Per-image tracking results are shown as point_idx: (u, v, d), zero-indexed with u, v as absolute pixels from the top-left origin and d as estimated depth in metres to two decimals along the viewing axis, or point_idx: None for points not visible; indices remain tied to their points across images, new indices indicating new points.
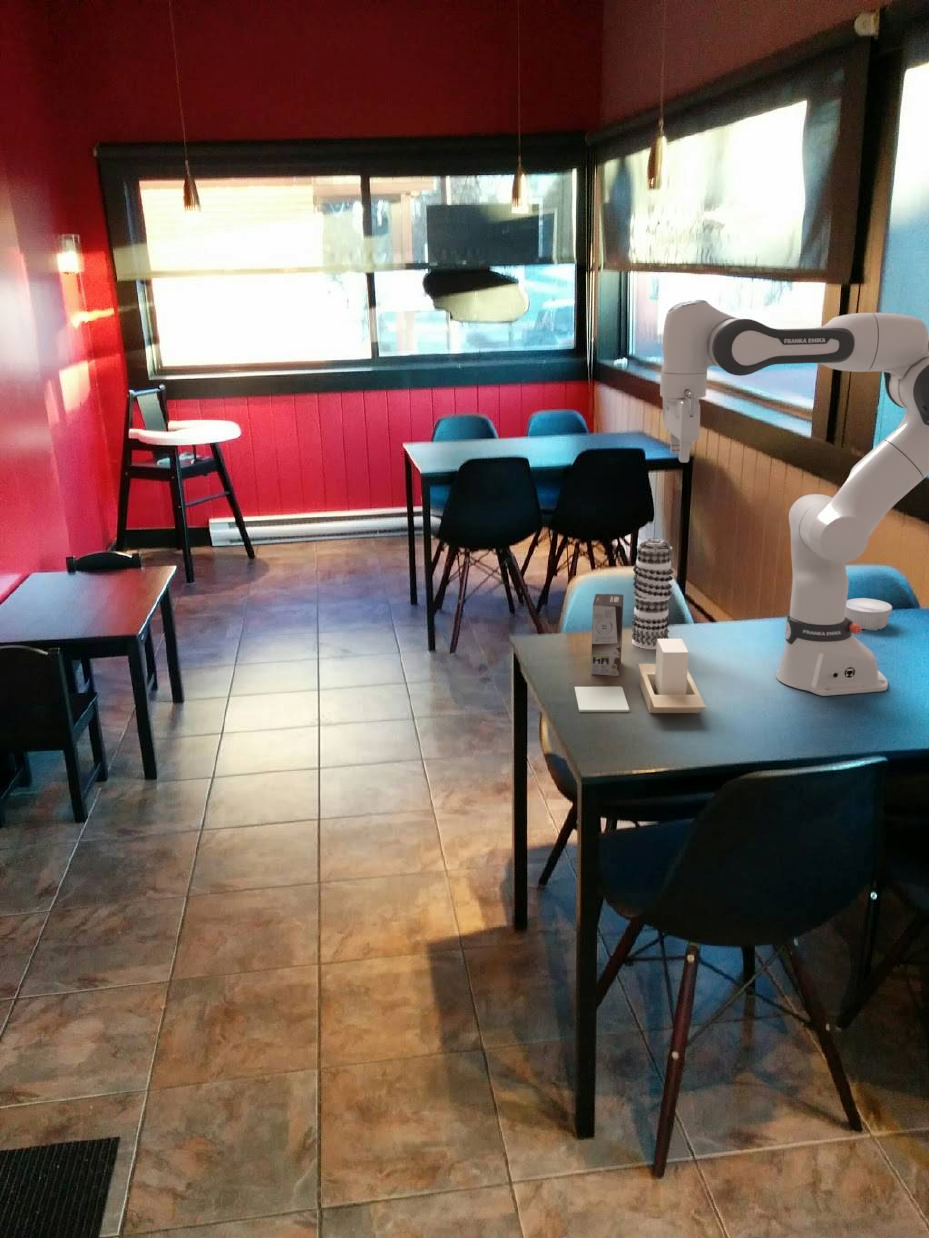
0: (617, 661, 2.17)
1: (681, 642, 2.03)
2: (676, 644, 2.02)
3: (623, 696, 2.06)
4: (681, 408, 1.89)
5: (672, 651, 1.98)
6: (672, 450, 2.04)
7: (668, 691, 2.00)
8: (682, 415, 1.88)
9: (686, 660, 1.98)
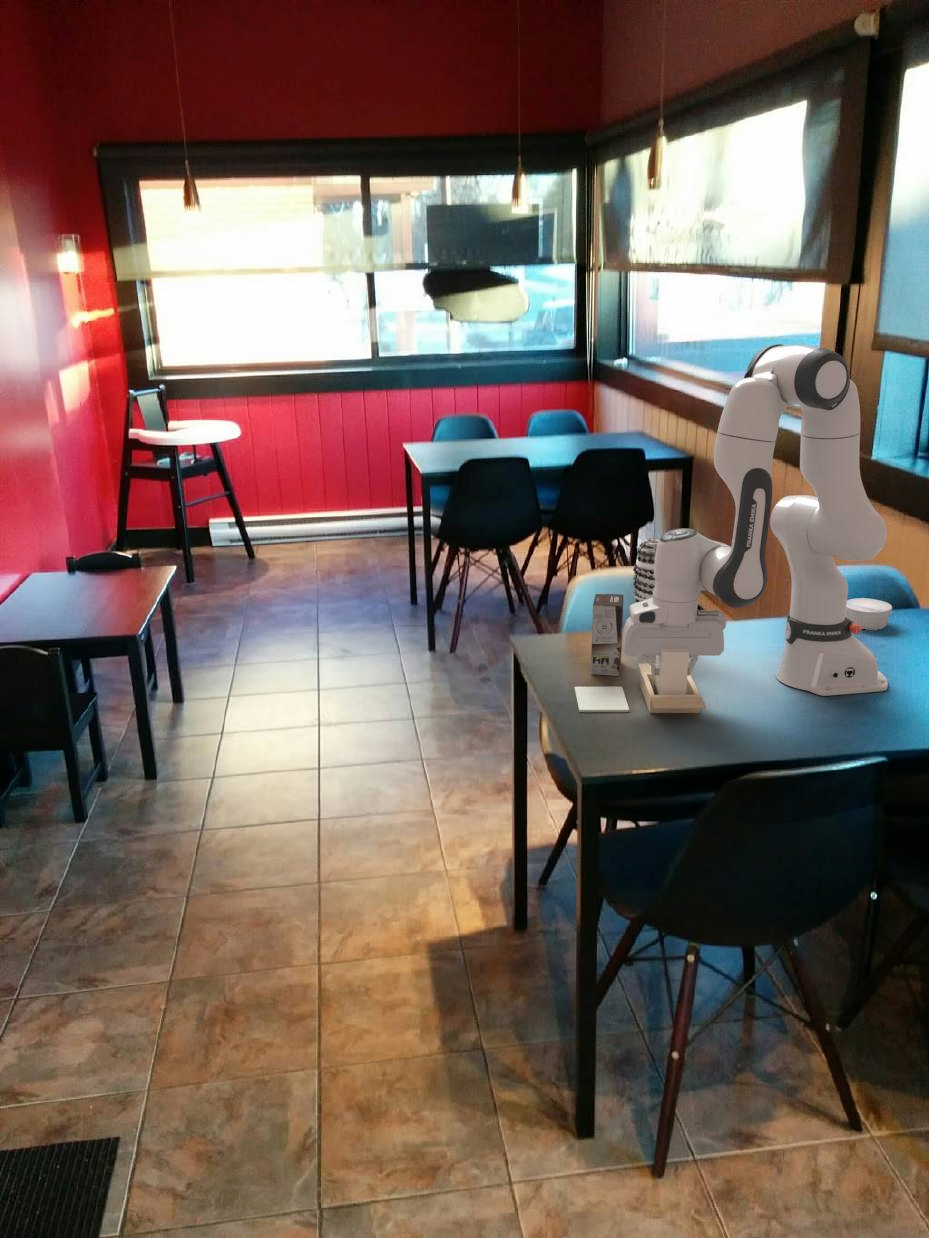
0: (617, 661, 2.17)
1: None
2: None
3: (623, 696, 2.06)
4: (719, 627, 1.98)
5: (672, 650, 1.98)
6: (658, 672, 2.03)
7: (668, 690, 2.00)
8: (722, 632, 1.99)
9: (686, 660, 1.98)
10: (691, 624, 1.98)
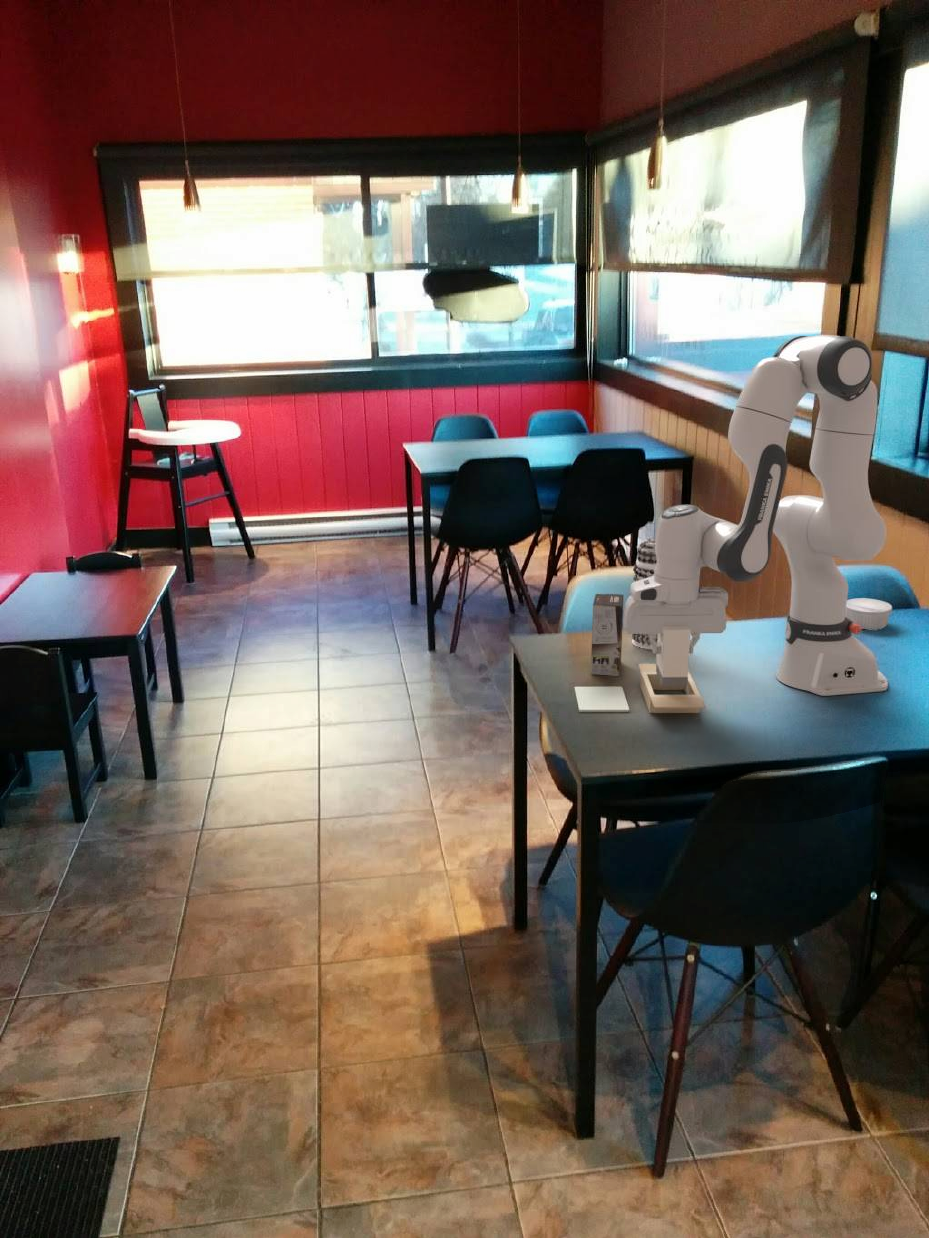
0: (617, 661, 2.17)
1: None
2: None
3: (623, 696, 2.06)
4: (721, 604, 1.97)
5: (674, 628, 1.97)
6: (660, 650, 2.01)
7: (670, 669, 1.99)
8: (724, 609, 1.97)
9: (688, 638, 1.97)
10: (693, 601, 1.97)
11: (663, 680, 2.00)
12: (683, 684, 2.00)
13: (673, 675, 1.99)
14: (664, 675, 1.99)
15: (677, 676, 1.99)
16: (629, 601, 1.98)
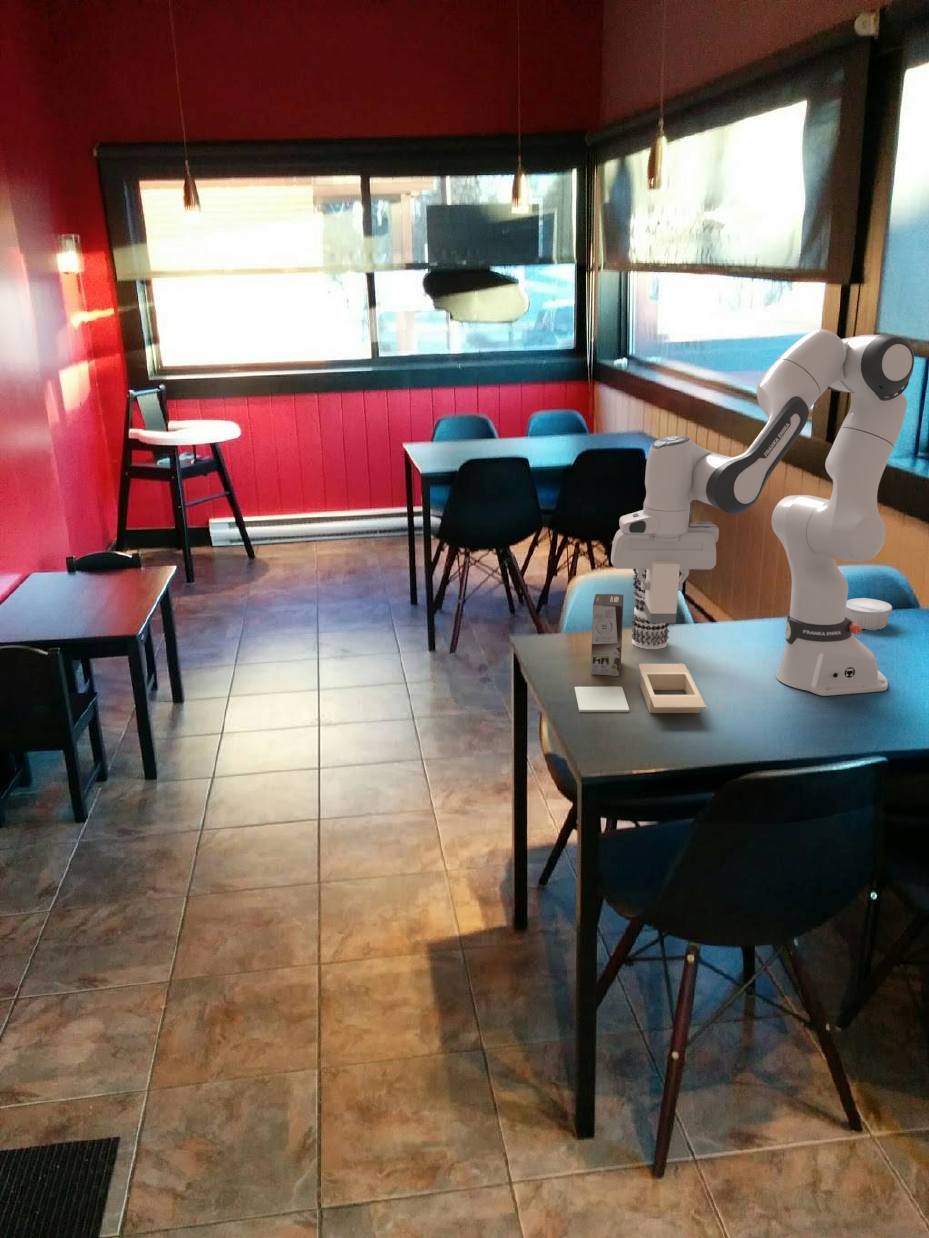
0: (617, 661, 2.17)
1: None
2: None
3: (623, 696, 2.06)
4: (711, 538, 1.92)
5: (663, 563, 1.93)
6: (648, 586, 1.97)
7: (659, 605, 1.94)
8: (714, 544, 1.93)
9: (677, 572, 1.92)
10: (682, 535, 1.92)
11: (651, 616, 1.95)
12: (671, 621, 1.95)
13: (661, 611, 1.95)
14: (652, 611, 1.95)
15: (665, 612, 1.95)
16: (617, 535, 1.94)
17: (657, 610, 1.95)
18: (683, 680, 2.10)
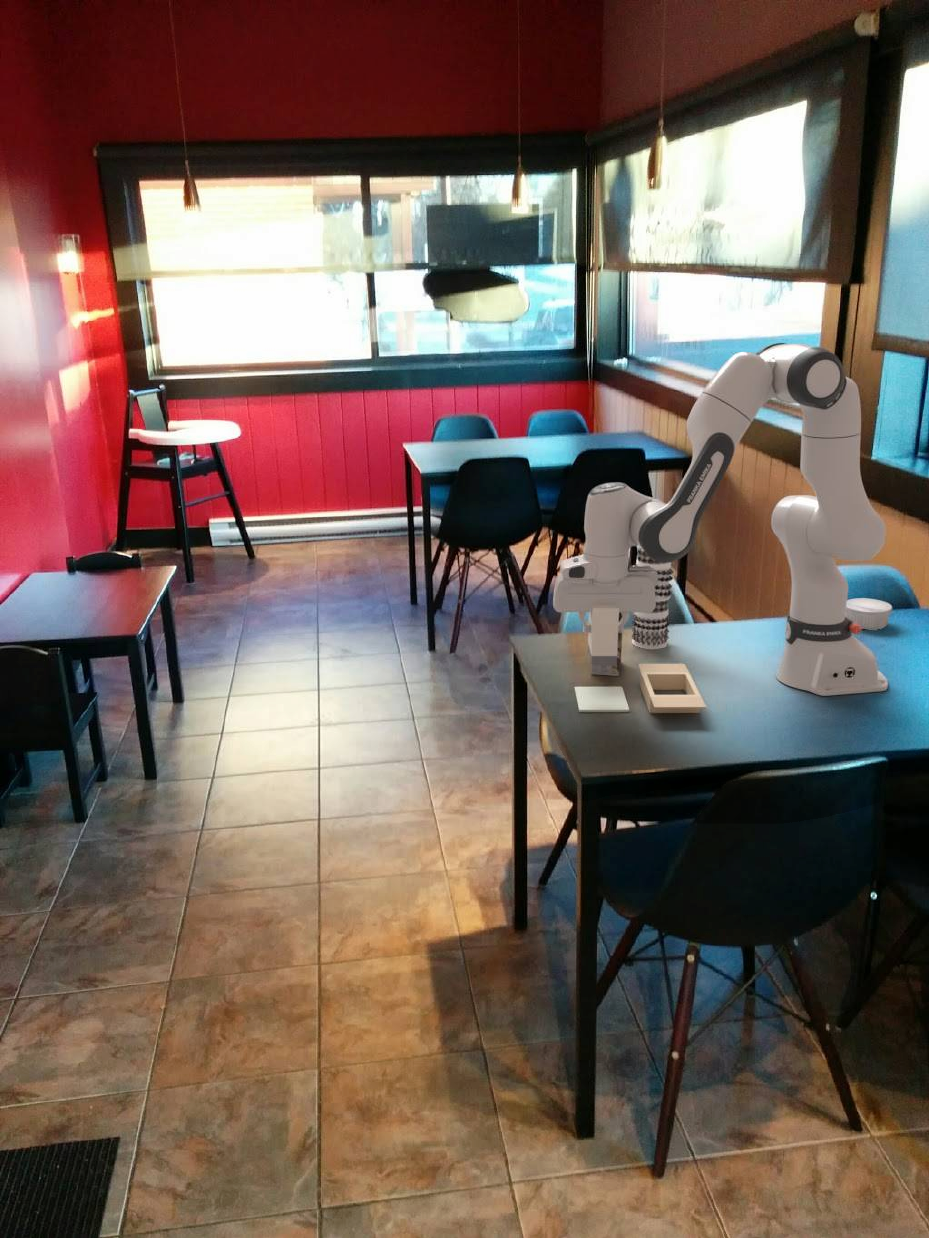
0: (617, 661, 2.17)
1: None
2: None
3: (623, 696, 2.06)
4: (650, 583, 1.96)
5: (602, 606, 1.96)
6: (590, 629, 2.00)
7: (599, 647, 1.98)
8: (653, 588, 1.96)
9: (617, 616, 1.95)
10: (622, 580, 1.95)
11: (592, 659, 1.98)
12: (612, 663, 1.99)
13: (602, 654, 1.98)
14: (593, 654, 1.98)
15: (606, 655, 1.98)
16: (558, 579, 1.97)
17: (598, 653, 1.98)
18: (683, 680, 2.10)
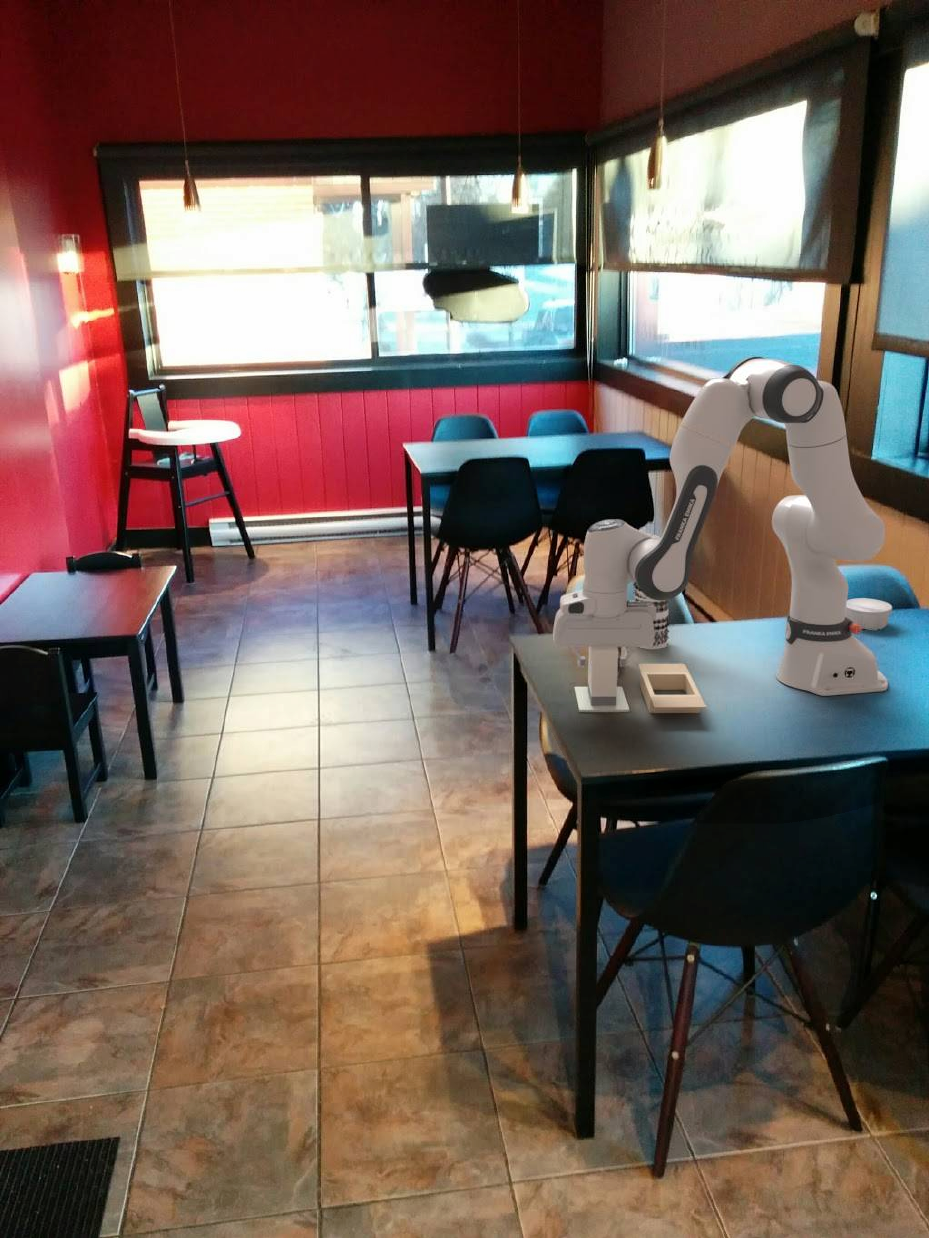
0: None
1: None
2: None
3: (623, 696, 2.06)
4: (648, 617, 1.98)
5: (602, 648, 1.99)
6: (584, 663, 2.02)
7: (599, 688, 2.01)
8: (652, 623, 1.98)
9: (616, 658, 1.98)
10: (621, 615, 1.98)
11: (592, 699, 2.01)
12: (612, 703, 2.02)
13: (602, 694, 2.01)
14: (593, 694, 2.01)
15: (606, 695, 2.01)
16: (558, 614, 2.00)
17: (597, 693, 2.01)
18: (683, 680, 2.10)
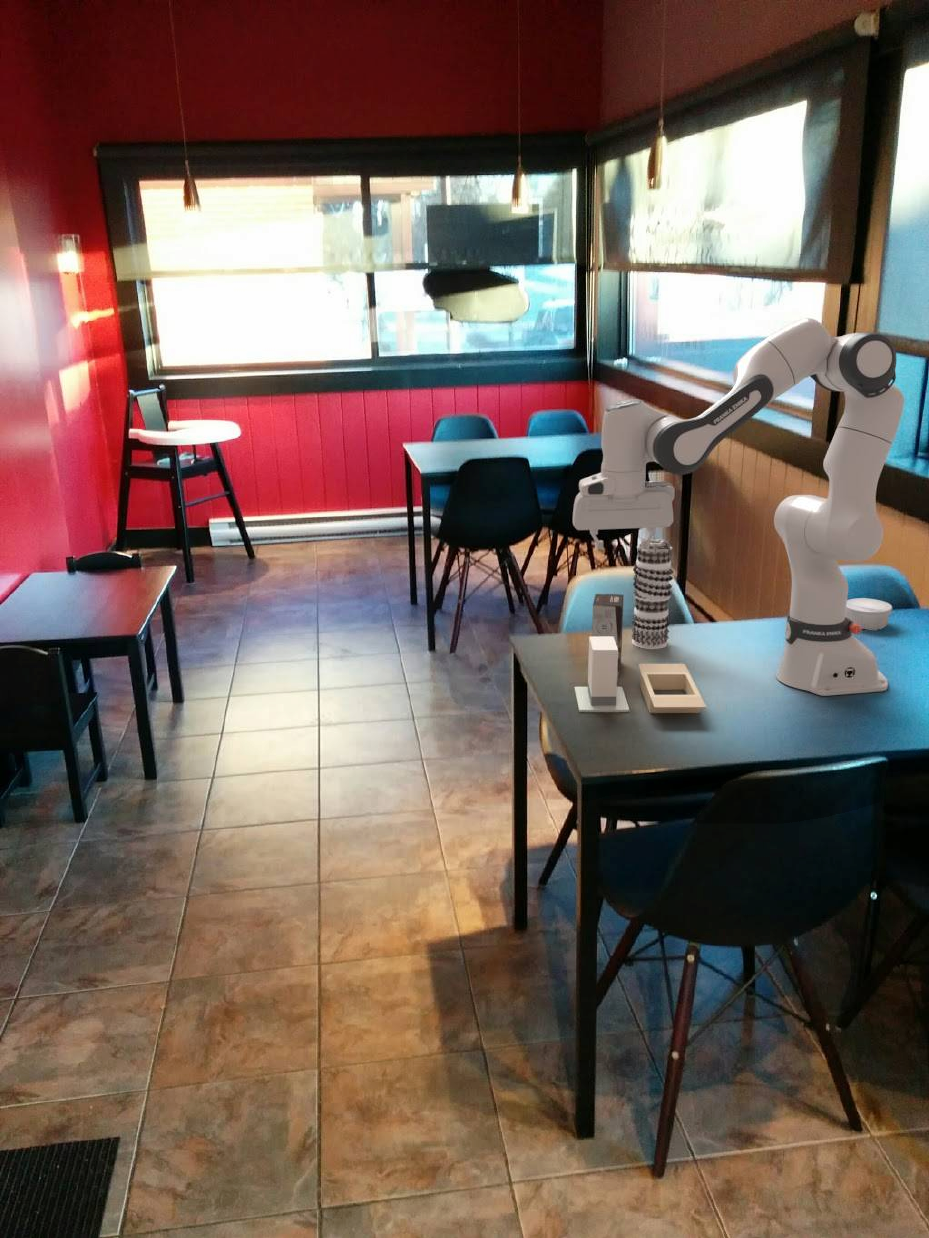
0: None
1: (612, 640, 2.03)
2: (607, 641, 2.02)
3: (623, 696, 2.06)
4: (667, 497, 2.00)
5: (602, 648, 1.99)
6: (602, 546, 2.05)
7: (599, 688, 2.01)
8: (671, 503, 2.00)
9: (616, 658, 1.98)
10: (640, 495, 2.00)
11: (592, 699, 2.01)
12: (612, 703, 2.02)
13: (602, 694, 2.01)
14: (593, 694, 2.01)
15: (606, 695, 2.01)
16: (577, 497, 2.02)
17: (597, 693, 2.01)
18: (683, 680, 2.10)
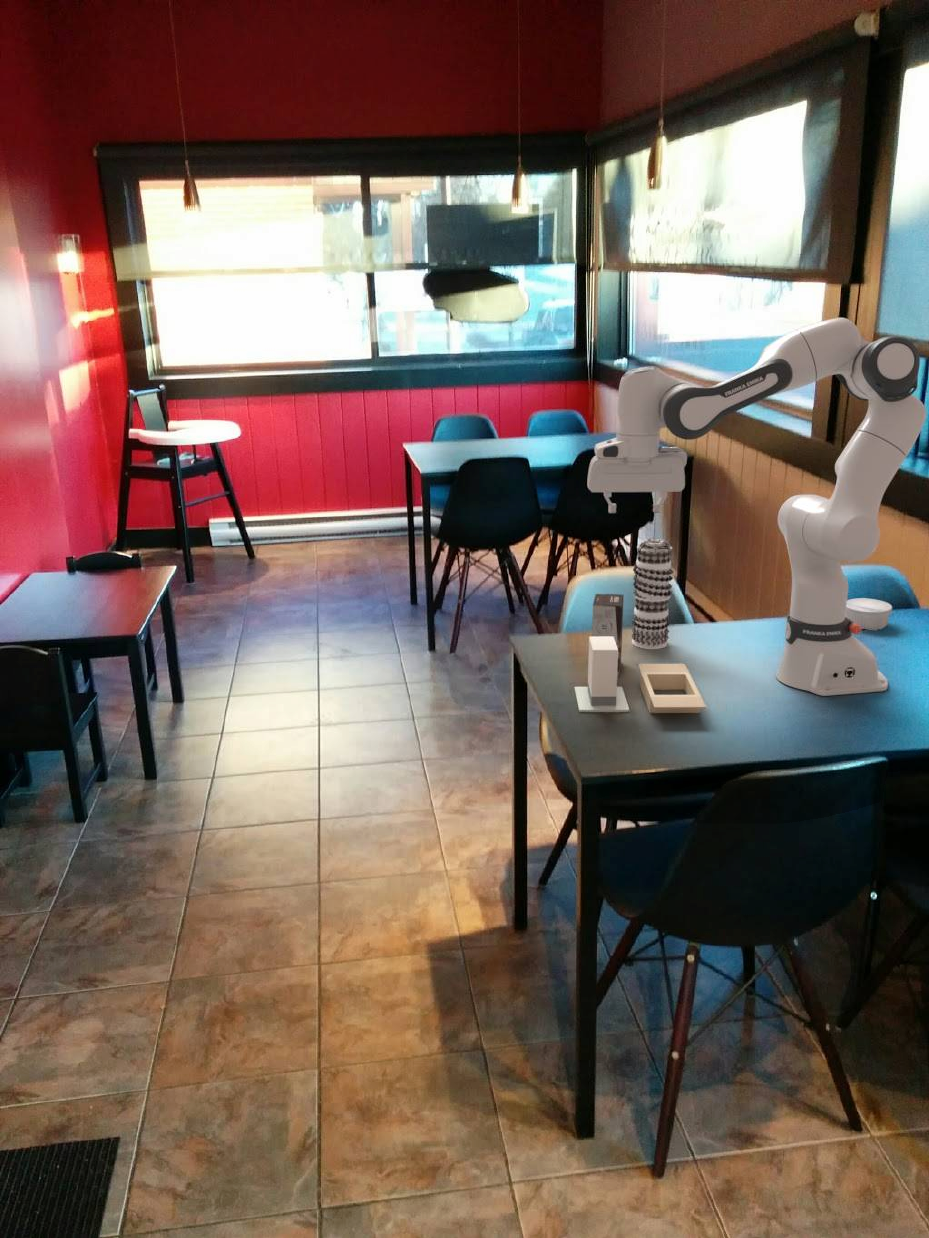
0: None
1: (612, 640, 2.03)
2: (607, 641, 2.02)
3: (623, 696, 2.06)
4: (679, 462, 2.07)
5: (602, 648, 1.99)
6: (615, 509, 2.11)
7: (599, 688, 2.01)
8: (683, 468, 2.07)
9: (616, 658, 1.98)
10: (653, 460, 2.07)
11: (592, 699, 2.01)
12: (612, 703, 2.02)
13: (602, 694, 2.01)
14: (593, 694, 2.01)
15: (606, 695, 2.01)
16: (593, 460, 2.09)
17: (597, 693, 2.01)
18: (683, 680, 2.10)
